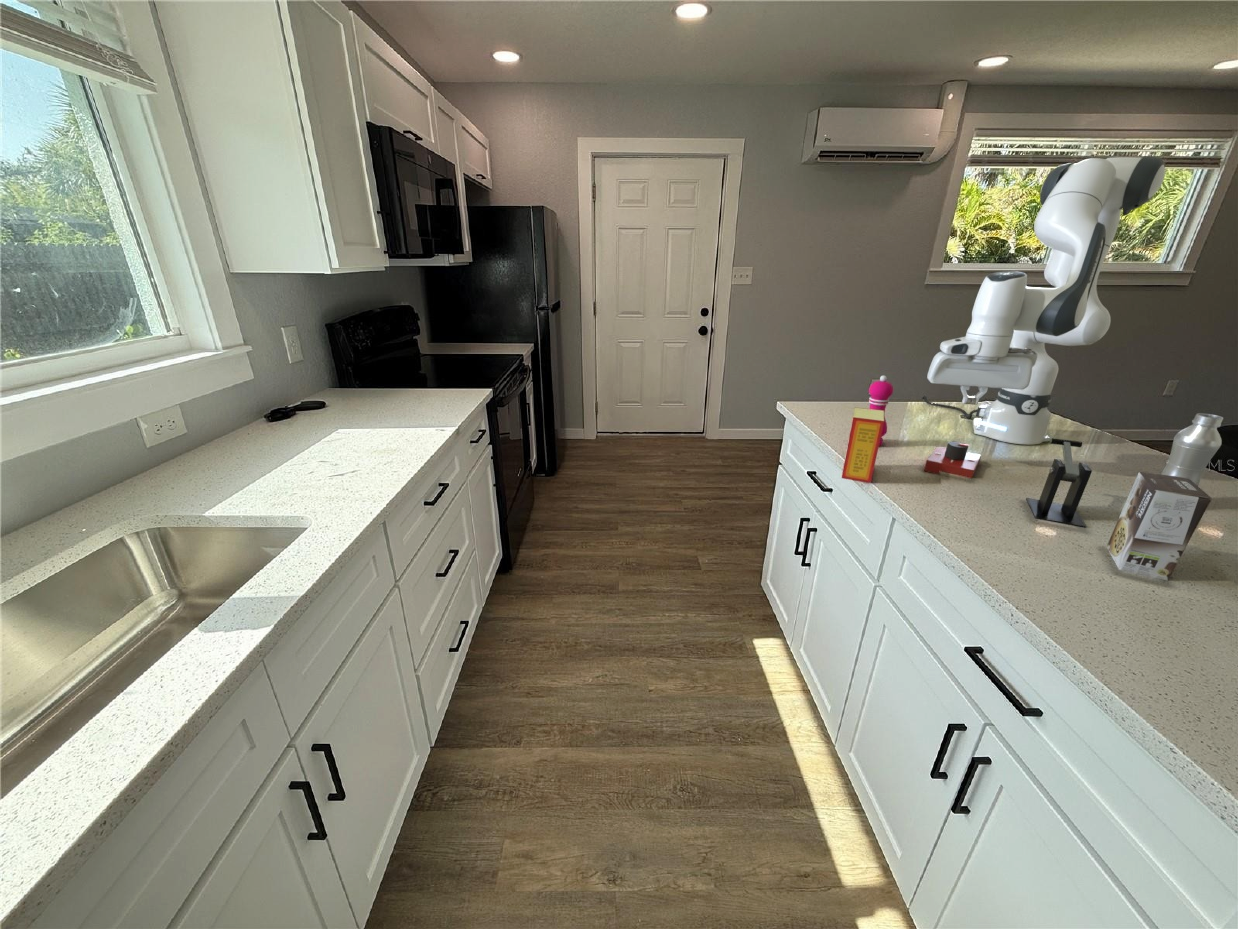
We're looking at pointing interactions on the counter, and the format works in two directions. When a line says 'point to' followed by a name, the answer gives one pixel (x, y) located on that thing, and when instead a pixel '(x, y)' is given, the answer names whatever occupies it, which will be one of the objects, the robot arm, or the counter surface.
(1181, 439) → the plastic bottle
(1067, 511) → the bracket
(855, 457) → the baking soda box
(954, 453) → the dial
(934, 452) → the dial panel
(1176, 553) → the coffee box
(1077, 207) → the robot arm
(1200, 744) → the counter surface
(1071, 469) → the press lever
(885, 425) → the pepper mill
